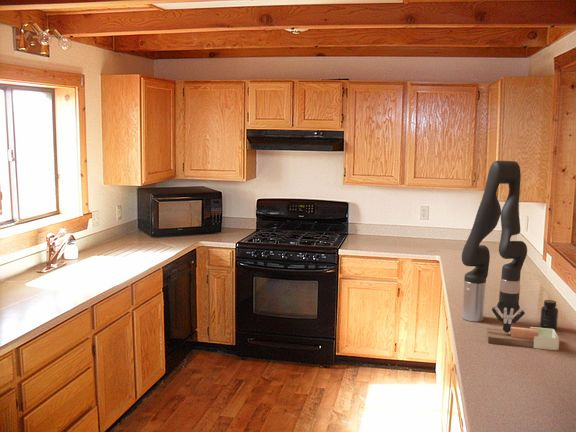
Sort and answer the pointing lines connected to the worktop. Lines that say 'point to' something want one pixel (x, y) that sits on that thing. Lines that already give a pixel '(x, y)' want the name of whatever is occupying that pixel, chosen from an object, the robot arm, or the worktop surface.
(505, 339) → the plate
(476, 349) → the worktop surface
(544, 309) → the supplement bottle
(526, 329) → the tile
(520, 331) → the tile
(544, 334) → the tray
